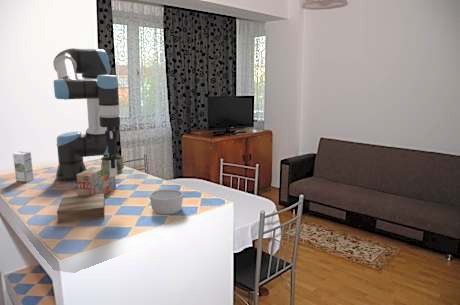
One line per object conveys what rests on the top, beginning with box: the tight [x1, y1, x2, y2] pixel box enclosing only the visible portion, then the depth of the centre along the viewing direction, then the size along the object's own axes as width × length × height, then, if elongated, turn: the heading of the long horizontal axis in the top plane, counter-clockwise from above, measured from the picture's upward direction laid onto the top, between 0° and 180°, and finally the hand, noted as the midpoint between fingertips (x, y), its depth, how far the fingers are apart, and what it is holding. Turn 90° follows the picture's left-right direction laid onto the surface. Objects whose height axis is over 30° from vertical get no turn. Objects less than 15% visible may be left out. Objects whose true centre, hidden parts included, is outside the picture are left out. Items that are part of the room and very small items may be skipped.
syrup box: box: [12, 150, 35, 183], centre depth 181 cm, size 6×6×14 cm
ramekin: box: [149, 188, 184, 216], centre depth 146 cm, size 13×13×7 cm
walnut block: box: [56, 194, 106, 224], centre depth 142 cm, size 16×16×5 cm
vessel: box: [100, 155, 125, 176], centre depth 144 cm, size 12×9×6 cm
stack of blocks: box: [76, 166, 117, 196], centre depth 163 cm, size 21×6×12 cm, turn 170°
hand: (112, 172), depth 145 cm, fingers closed on vessel, 9 cm apart
